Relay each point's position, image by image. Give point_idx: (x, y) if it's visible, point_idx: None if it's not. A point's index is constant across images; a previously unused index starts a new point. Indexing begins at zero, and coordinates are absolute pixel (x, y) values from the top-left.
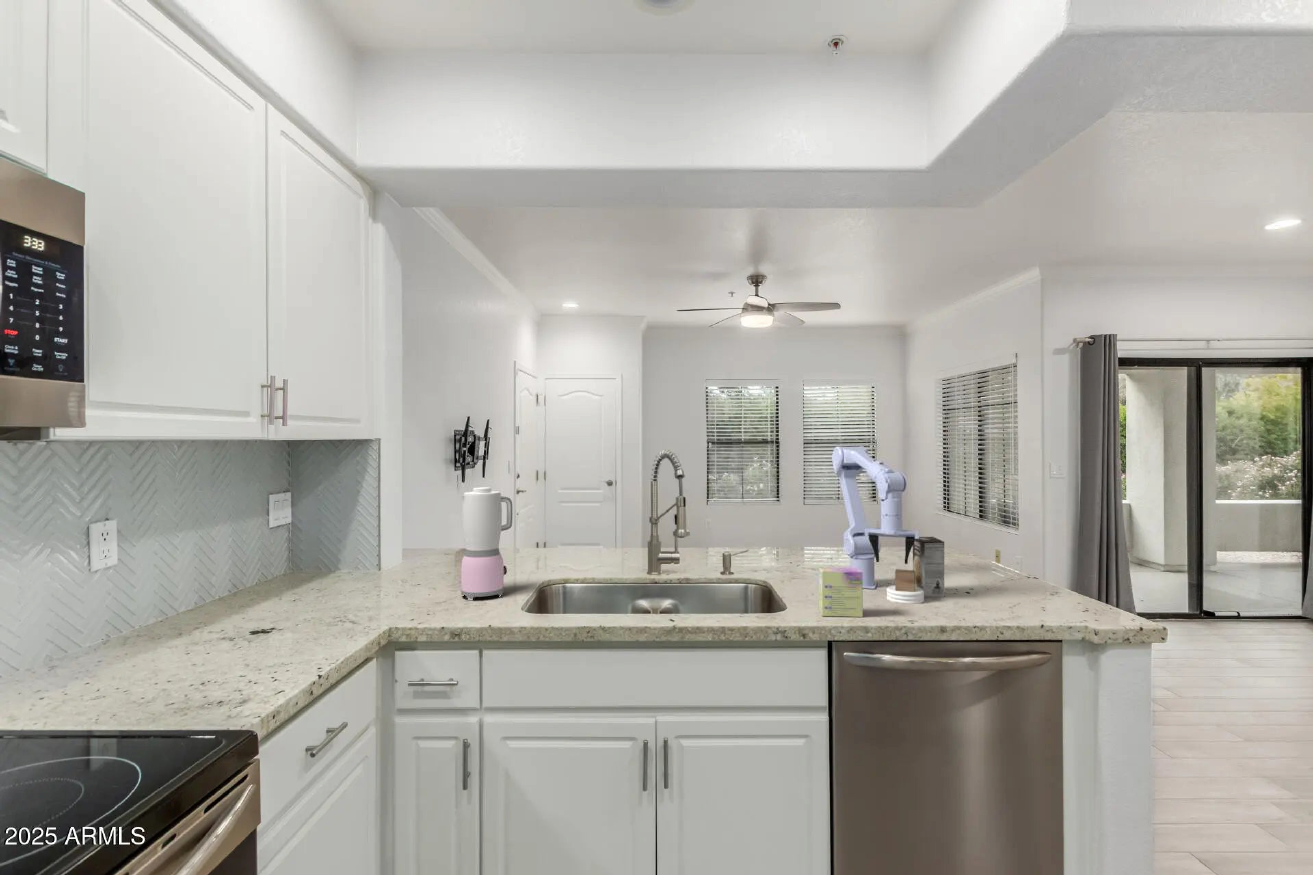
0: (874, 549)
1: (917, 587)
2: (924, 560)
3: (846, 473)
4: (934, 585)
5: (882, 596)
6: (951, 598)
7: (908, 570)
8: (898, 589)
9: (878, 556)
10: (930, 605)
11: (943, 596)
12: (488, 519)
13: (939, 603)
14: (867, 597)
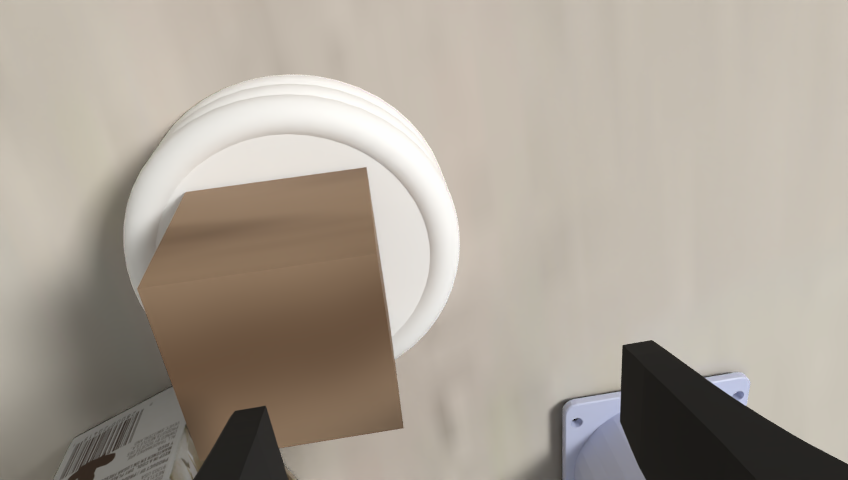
0: (797, 449)
1: None
2: None
3: None
4: (105, 468)
5: (484, 234)
6: (6, 412)
7: None
8: (336, 173)
9: (660, 406)
10: (52, 119)
11: (79, 436)
12: None
13: (16, 225)
14: (593, 146)
